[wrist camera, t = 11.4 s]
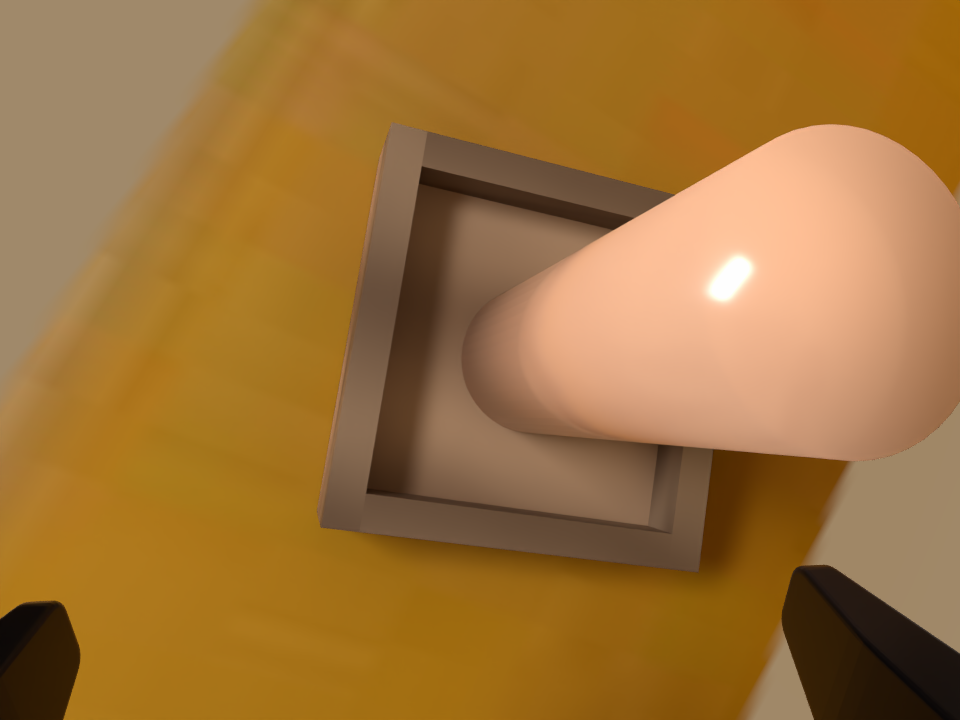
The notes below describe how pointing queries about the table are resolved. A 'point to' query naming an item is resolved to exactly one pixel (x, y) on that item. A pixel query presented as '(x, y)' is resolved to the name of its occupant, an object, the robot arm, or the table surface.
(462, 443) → the square wooden tray
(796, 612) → the robot arm
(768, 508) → the table surface
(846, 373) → the peach tall rounded piece
